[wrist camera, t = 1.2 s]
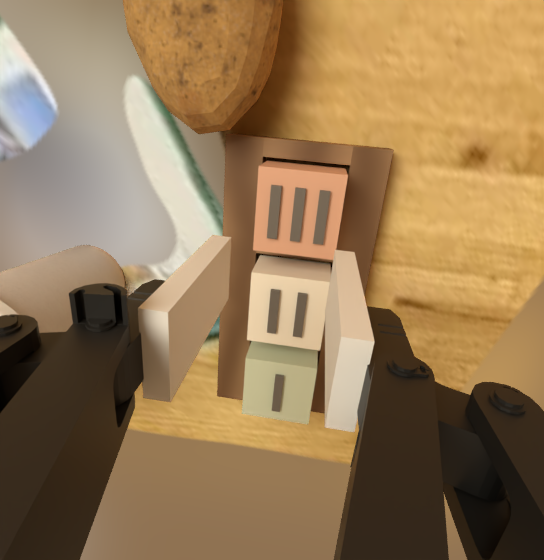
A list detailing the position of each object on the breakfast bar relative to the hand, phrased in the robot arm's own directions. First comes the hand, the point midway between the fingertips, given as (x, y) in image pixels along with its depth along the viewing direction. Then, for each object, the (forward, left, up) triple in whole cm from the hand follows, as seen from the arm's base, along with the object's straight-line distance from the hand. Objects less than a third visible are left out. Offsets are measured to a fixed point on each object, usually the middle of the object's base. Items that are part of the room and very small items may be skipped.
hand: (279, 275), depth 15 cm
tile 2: (0, -8, -15) cm, 17 cm away
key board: (0, -8, -17) cm, 18 cm away
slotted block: (0, -15, -15) cm, 21 cm away
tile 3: (0, 0, -15) cm, 15 cm away
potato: (-7, +11, -17) cm, 22 cm away
